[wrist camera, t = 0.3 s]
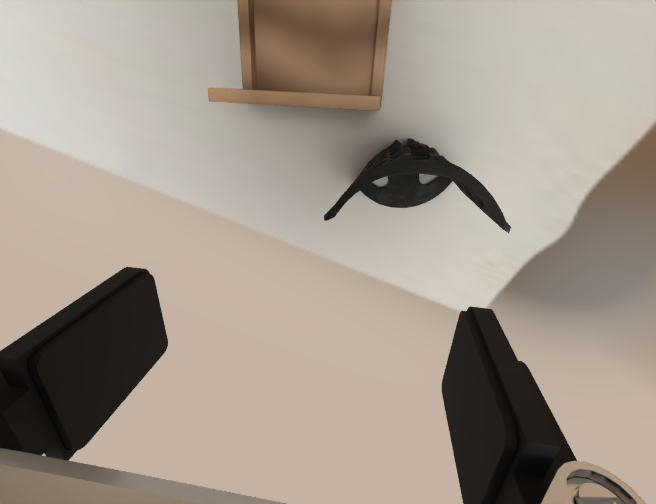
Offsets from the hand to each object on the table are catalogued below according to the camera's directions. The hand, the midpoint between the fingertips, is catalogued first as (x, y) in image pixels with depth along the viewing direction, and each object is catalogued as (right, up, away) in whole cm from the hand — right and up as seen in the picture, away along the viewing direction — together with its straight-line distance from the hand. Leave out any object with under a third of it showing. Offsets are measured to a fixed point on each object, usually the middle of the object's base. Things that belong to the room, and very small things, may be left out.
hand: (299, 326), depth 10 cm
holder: (+9, +12, +27) cm, 31 cm away
